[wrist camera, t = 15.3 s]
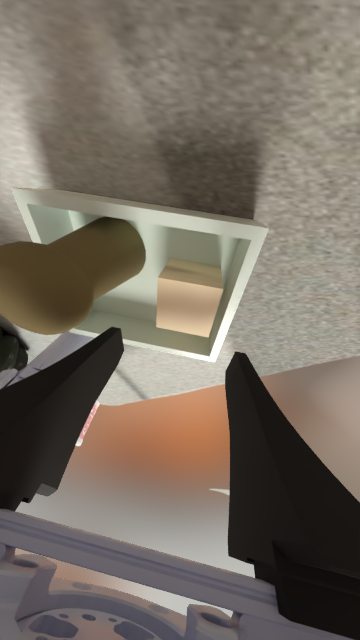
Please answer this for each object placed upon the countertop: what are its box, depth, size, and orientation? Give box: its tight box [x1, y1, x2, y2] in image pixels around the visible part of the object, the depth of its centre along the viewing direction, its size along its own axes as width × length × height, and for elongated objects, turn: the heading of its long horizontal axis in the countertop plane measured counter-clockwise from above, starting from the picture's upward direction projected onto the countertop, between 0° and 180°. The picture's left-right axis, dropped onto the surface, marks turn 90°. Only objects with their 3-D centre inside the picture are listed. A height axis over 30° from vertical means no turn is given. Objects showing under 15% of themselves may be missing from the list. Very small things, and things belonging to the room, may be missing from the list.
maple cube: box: [156, 258, 223, 337], centre depth 16 cm, size 5×5×5 cm
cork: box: [0, 216, 146, 335], centre depth 12 cm, size 6×6×11 cm
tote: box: [10, 187, 269, 362], centre depth 17 cm, size 14×18×5 cm
